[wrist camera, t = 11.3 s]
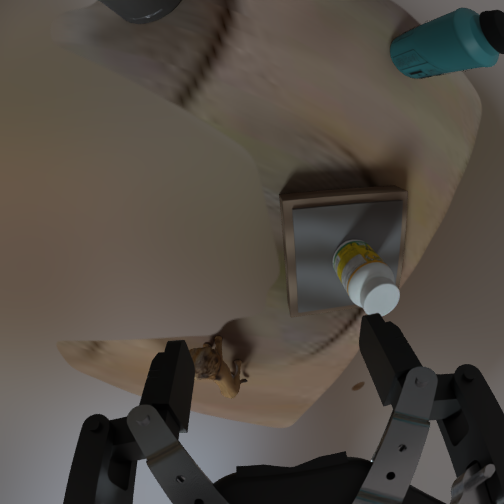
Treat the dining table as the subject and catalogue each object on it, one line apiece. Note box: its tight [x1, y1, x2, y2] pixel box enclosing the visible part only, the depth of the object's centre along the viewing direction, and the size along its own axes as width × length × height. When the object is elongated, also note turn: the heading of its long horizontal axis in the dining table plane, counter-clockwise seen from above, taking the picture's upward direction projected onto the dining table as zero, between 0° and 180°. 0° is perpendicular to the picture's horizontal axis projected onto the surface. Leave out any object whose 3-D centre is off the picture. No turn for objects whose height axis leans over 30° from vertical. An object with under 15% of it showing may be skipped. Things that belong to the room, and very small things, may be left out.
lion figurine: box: [189, 336, 247, 398], centre depth 41 cm, size 15×5×9 cm, turn 35°
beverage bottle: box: [390, 8, 504, 79], centre depth 18 cm, size 6×7×20 cm
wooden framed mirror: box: [279, 186, 408, 317], centre depth 36 cm, size 16×16×4 cm
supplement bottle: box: [333, 240, 400, 316], centre depth 30 cm, size 5×5×10 cm
